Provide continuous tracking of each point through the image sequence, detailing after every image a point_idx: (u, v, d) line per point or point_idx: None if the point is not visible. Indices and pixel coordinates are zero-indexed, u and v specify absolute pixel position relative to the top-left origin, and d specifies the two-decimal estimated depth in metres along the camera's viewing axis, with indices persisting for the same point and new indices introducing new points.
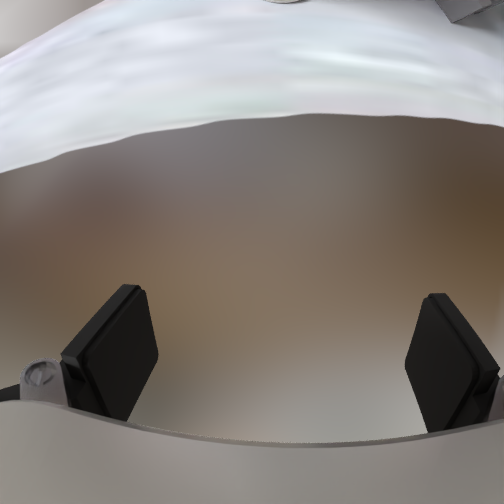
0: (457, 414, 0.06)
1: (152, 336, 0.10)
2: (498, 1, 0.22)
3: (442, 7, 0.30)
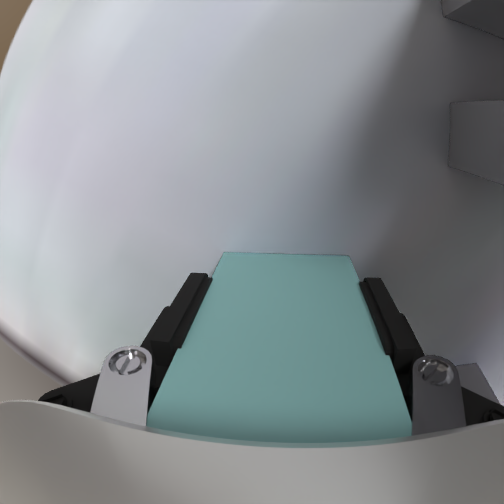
0: None
1: None
2: None
3: None
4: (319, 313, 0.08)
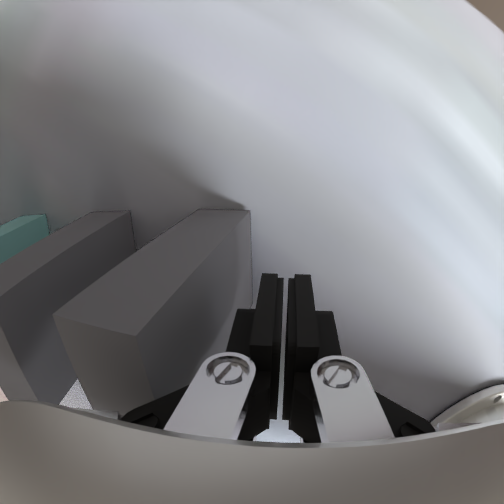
0: None
1: None
2: (29, 280, 0.08)
3: (250, 269, 0.16)
4: None
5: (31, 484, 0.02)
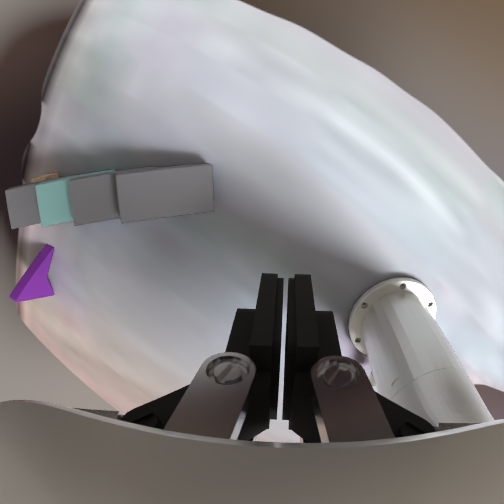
0: None
1: None
2: (84, 180, 0.30)
3: (210, 192, 0.33)
4: None
5: (31, 484, 0.02)
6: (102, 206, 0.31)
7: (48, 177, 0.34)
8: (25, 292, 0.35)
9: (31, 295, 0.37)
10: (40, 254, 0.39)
